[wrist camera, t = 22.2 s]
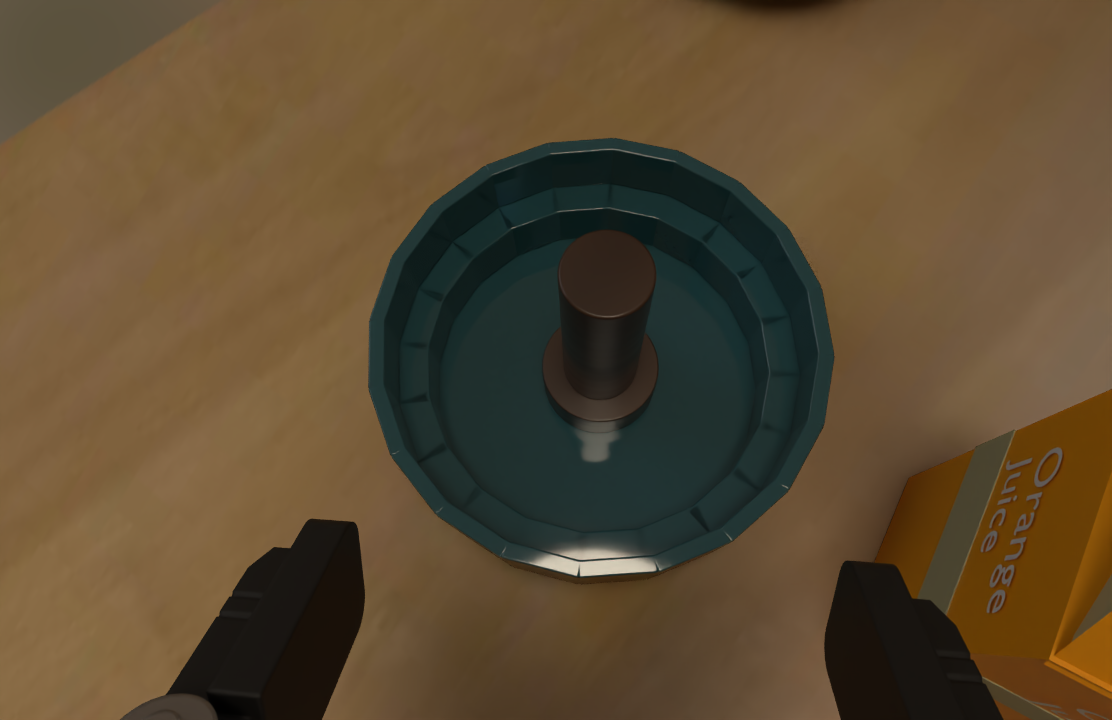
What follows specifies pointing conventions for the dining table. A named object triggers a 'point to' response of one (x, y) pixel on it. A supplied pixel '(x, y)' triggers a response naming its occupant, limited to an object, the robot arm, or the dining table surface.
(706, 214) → the bowl
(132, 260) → the dining table surface
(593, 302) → the grey brown flanged cylinder
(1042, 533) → the orange juice
